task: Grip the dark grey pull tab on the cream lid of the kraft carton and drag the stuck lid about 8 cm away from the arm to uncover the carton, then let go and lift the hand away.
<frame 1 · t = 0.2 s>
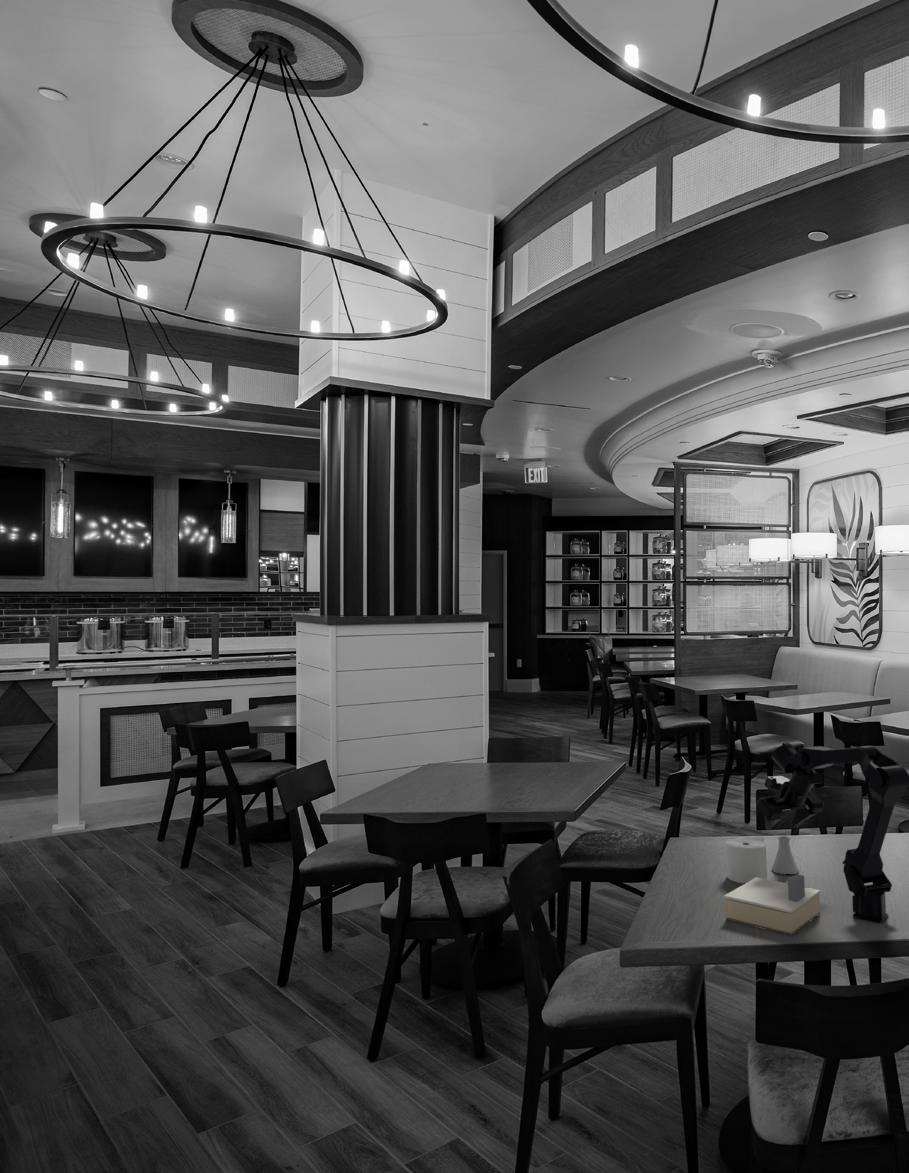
hand: (780, 827, 237), 15 cm above the table, tool tilted 30°, fingers open, 9 cm apart
carton lid: (772, 884, 209), point 8 cm above the table, slide at 0.0 cm
flask: (785, 872, 244), on the table
toilet tissue: (747, 878, 239), on the table
carton: (773, 917, 209), on the table
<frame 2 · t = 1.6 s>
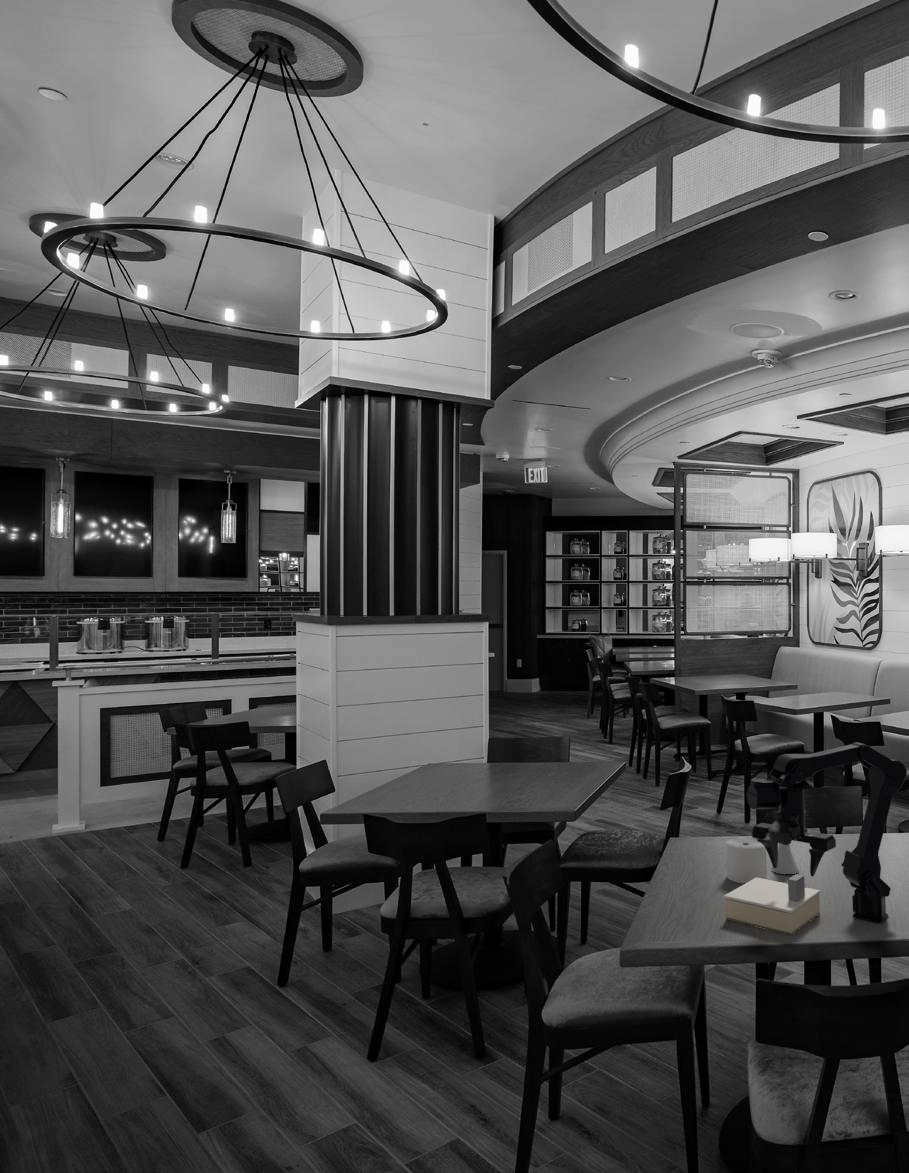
hand: (793, 872, 206), 12 cm above the table, tool pointing down, fingers open, 9 cm apart
nothing on the table moved.
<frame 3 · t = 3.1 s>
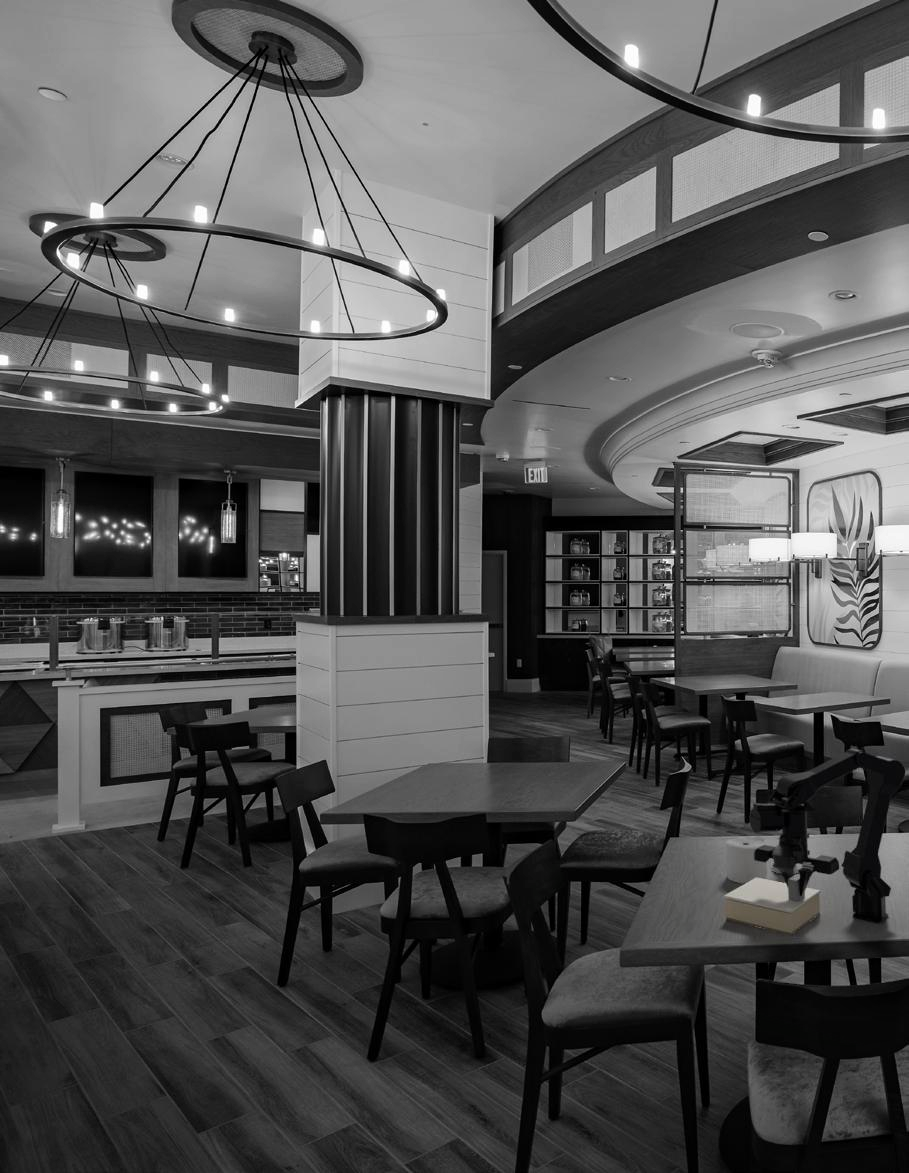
hand: (796, 894, 205), 7 cm above the table, tool pointing down, fingers closed on carton lid, 2 cm apart
carton lid: (772, 884, 209), point 8 cm above the table, slide at 0.0 cm, touching gripper
everything else where it was.
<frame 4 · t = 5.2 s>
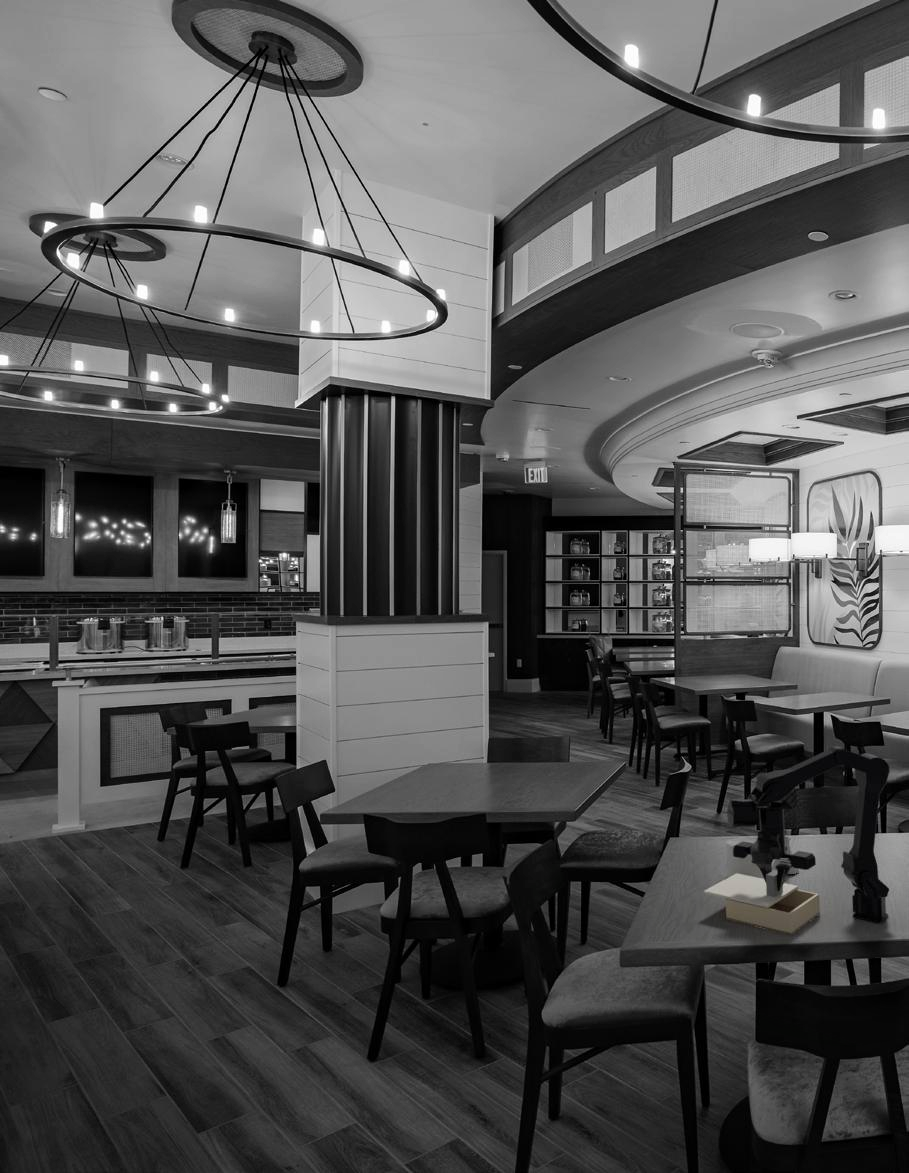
hand: (774, 890, 209), 7 cm above the table, tool pointing down, fingers closed on carton lid, 2 cm apart
carton lid: (751, 879, 213), point 8 cm above the table, slide at 5.4 cm, touching gripper
everything else where it was.
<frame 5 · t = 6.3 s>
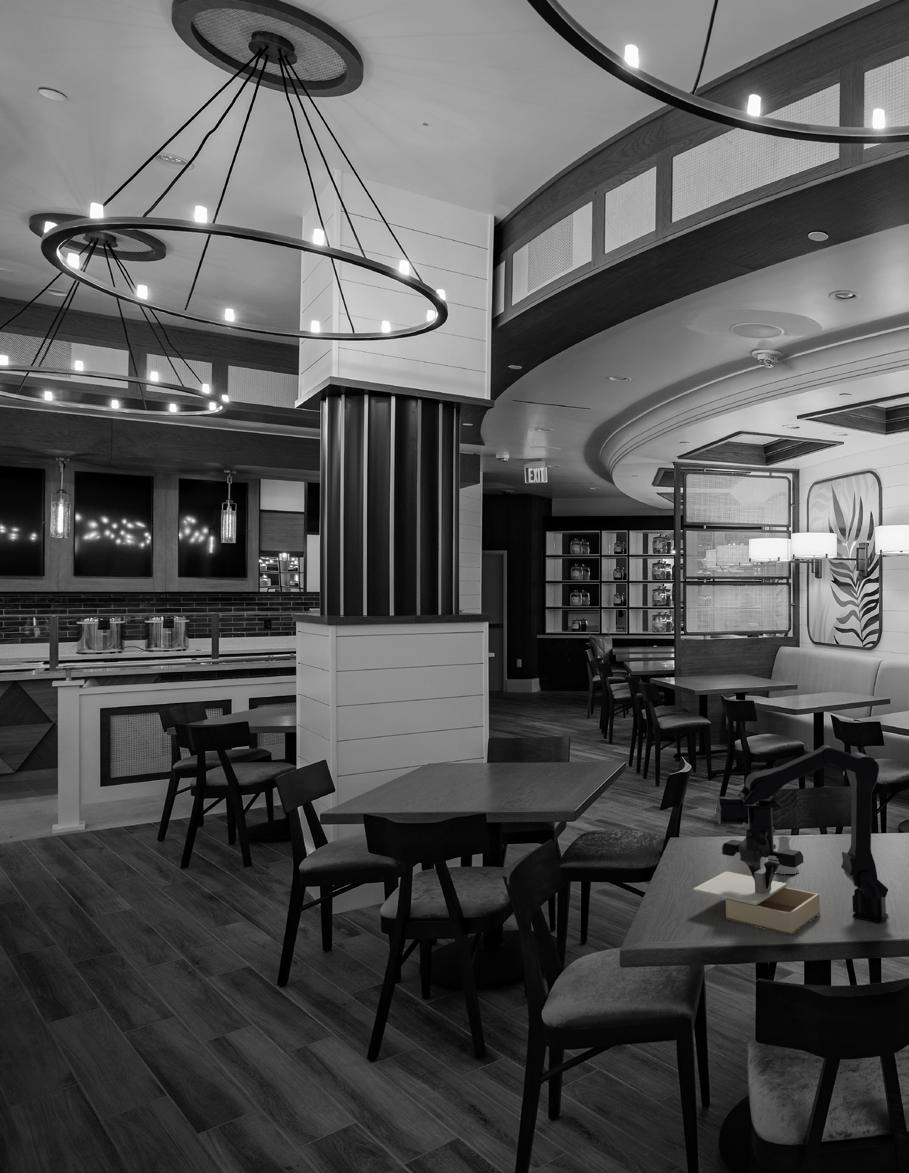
hand: (763, 887, 211), 7 cm above the table, tool pointing down, fingers closed on carton lid, 2 cm apart
carton lid: (739, 877, 215), point 8 cm above the table, slide at 8.4 cm, touching gripper
everything else where it was.
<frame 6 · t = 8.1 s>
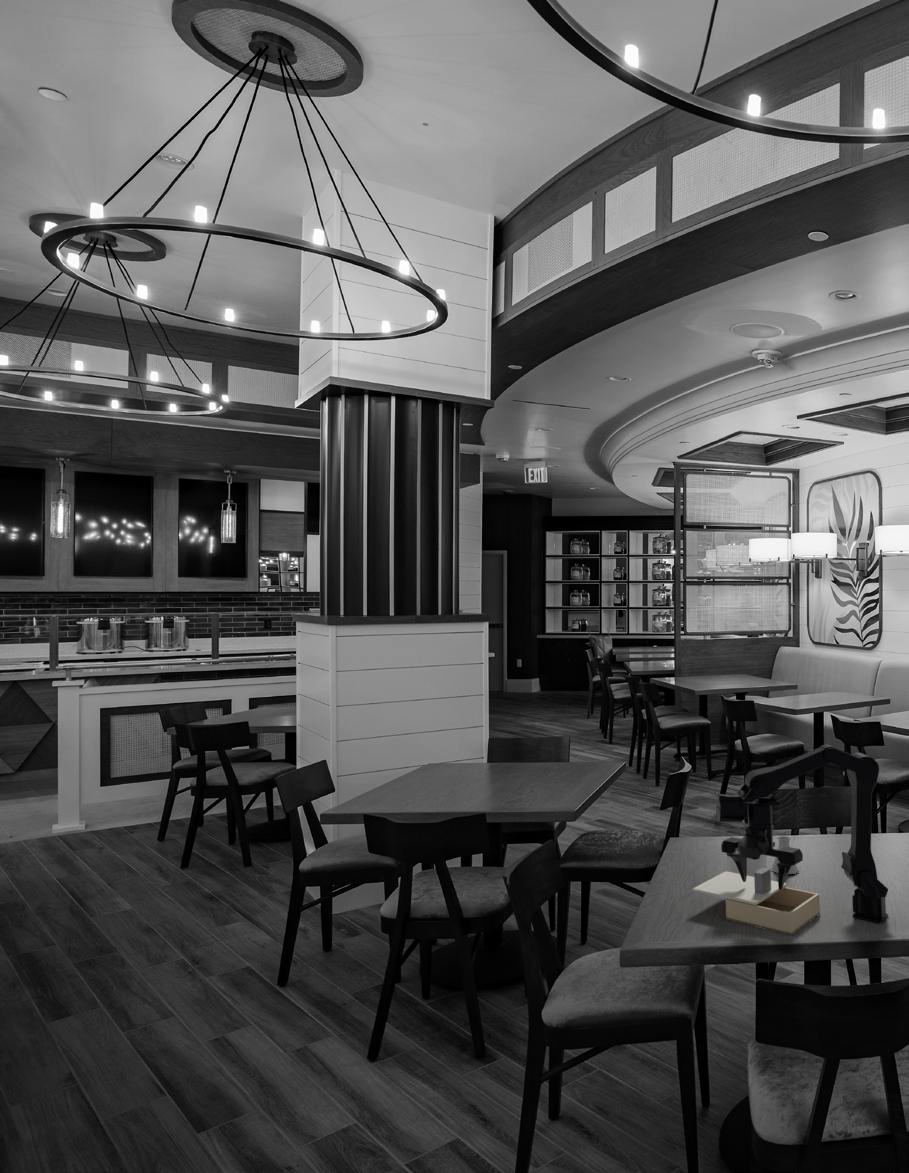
hand: (762, 885, 211), 7 cm above the table, tool pointing down, fingers open, 9 cm apart
carton lid: (739, 877, 215), point 8 cm above the table, slide at 8.4 cm
everything else where it was.
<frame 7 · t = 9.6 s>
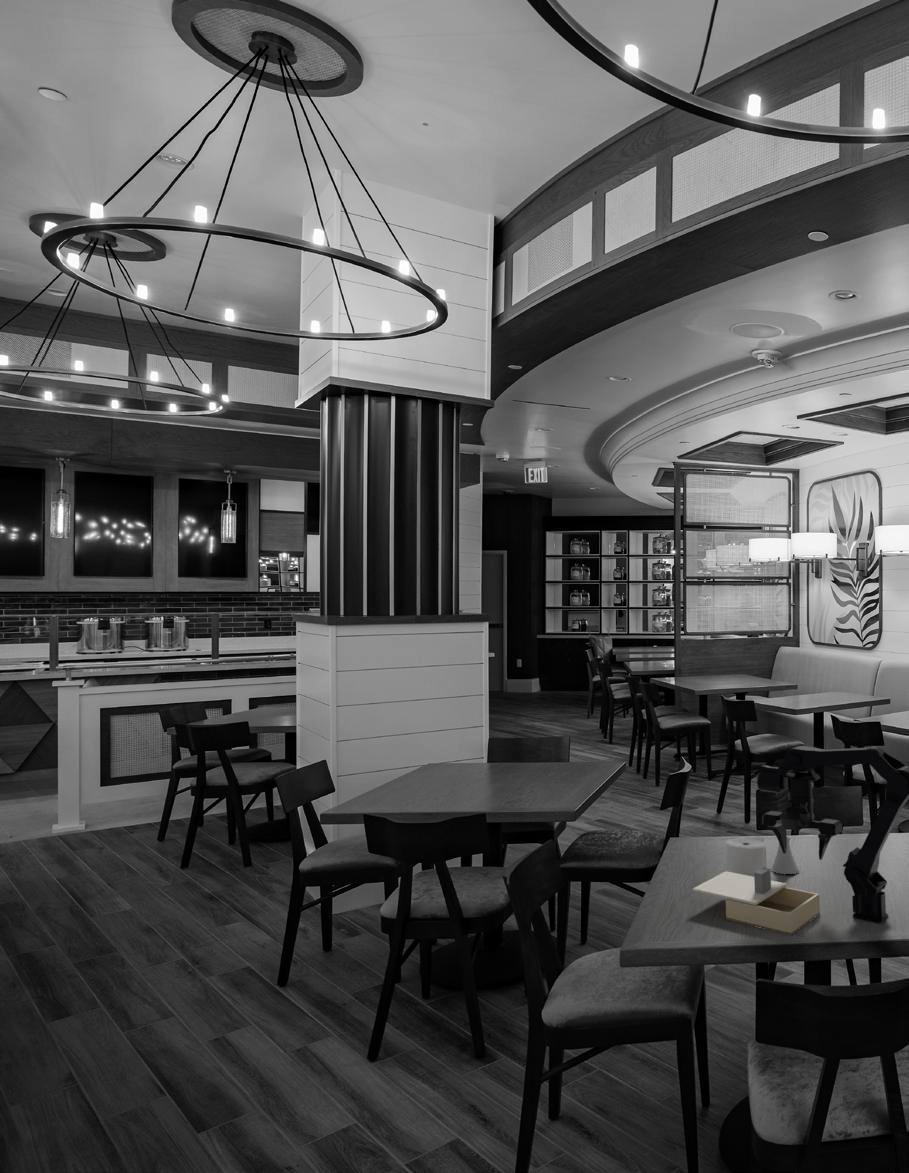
hand: (802, 856, 218), 12 cm above the table, tool pointing down, fingers open, 9 cm apart
nothing on the table moved.
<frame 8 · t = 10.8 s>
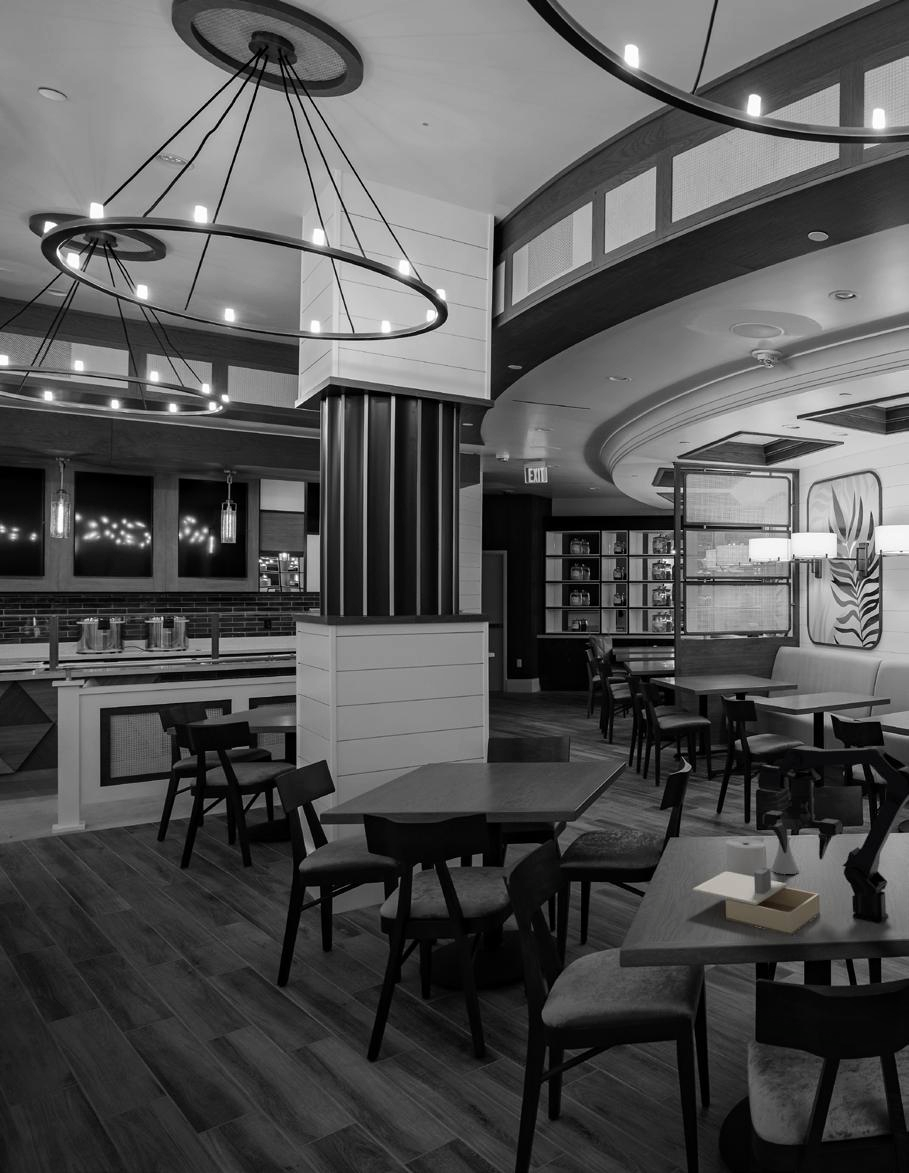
hand: (803, 855, 219), 12 cm above the table, tool pointing down, fingers open, 9 cm apart
nothing on the table moved.
at the end: carton lid slide at 8.4 cm; the gripper is holding nothing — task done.
